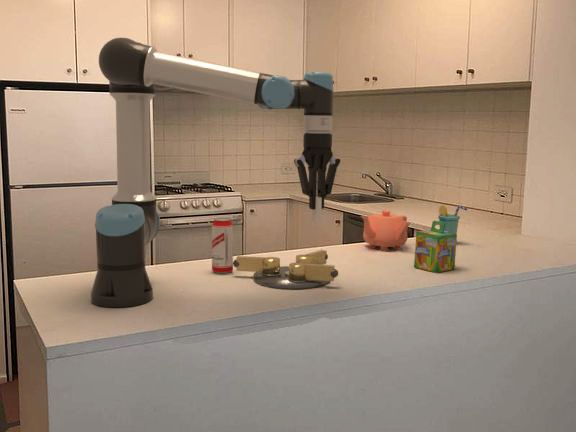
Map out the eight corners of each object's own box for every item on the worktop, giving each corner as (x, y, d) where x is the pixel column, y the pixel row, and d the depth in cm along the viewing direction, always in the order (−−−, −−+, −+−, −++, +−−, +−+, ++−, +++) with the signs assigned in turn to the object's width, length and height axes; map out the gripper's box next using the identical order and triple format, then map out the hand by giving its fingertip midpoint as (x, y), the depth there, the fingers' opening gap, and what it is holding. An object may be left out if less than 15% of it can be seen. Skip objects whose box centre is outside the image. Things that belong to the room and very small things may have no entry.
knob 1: (281, 270, 185) (281, 256, 185) (278, 274, 181) (278, 260, 180) (235, 268, 187) (235, 254, 187) (231, 272, 182) (231, 258, 182)
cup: (471, 246, 232) (473, 205, 230) (457, 248, 228) (459, 207, 225) (442, 240, 244) (444, 201, 241) (428, 242, 239) (429, 202, 237)
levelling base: (278, 293, 168) (278, 284, 167) (239, 275, 186) (239, 267, 186) (345, 283, 179) (345, 274, 179) (303, 267, 198) (303, 259, 197)
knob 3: (287, 280, 175) (287, 265, 174) (291, 275, 180) (291, 261, 179) (336, 283, 172) (336, 268, 171) (339, 279, 177) (339, 264, 176)
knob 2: (306, 272, 184) (306, 258, 183) (292, 269, 187) (292, 255, 186) (332, 264, 194) (333, 250, 194) (319, 261, 197) (319, 248, 197)
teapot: (408, 253, 219) (410, 214, 217) (359, 251, 222) (360, 213, 220) (406, 244, 235) (407, 208, 233) (360, 242, 237) (360, 207, 235)
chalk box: (413, 268, 198) (415, 221, 196) (432, 264, 204) (434, 218, 202) (437, 273, 191) (439, 225, 189) (456, 269, 197) (458, 222, 195)
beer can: (222, 268, 195) (222, 216, 192) (237, 271, 191) (237, 219, 188) (207, 272, 190) (207, 219, 187) (222, 275, 186) (222, 221, 183)
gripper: (301, 132, 161) (300, 224, 165) (346, 132, 166) (344, 221, 170) (289, 132, 168) (288, 220, 171) (332, 132, 173) (331, 217, 177)
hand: (316, 221), depth 171 cm, fingers closed
